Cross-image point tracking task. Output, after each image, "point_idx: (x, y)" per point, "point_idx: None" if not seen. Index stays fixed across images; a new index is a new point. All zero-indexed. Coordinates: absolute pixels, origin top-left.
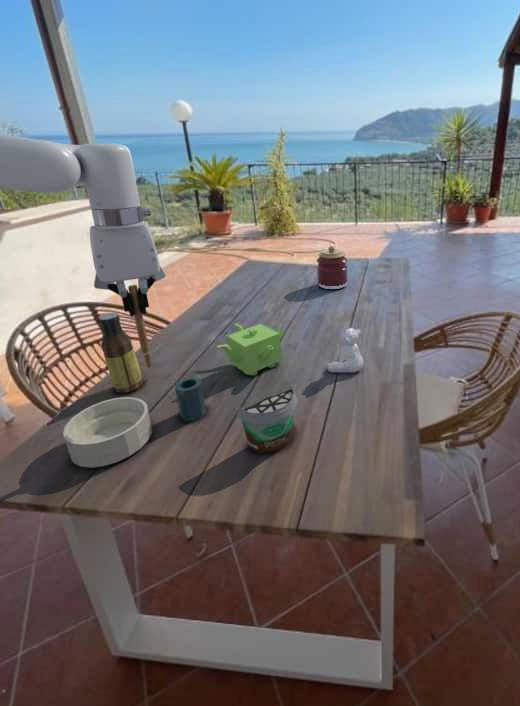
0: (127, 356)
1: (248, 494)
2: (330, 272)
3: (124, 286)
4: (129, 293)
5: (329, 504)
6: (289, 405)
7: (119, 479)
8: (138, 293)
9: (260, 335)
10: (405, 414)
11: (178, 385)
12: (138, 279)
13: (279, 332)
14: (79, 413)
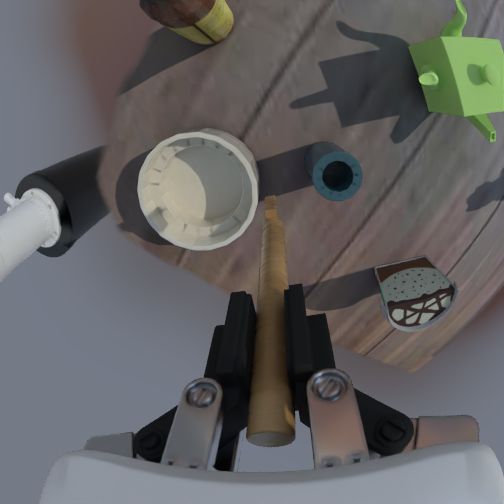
0: (205, 21)
1: (347, 322)
2: None
3: (234, 468)
4: (245, 382)
5: (393, 347)
6: (433, 320)
7: (225, 254)
8: (295, 396)
9: (494, 90)
10: (499, 287)
11: (319, 173)
12: (317, 451)
13: None
14: (147, 161)
